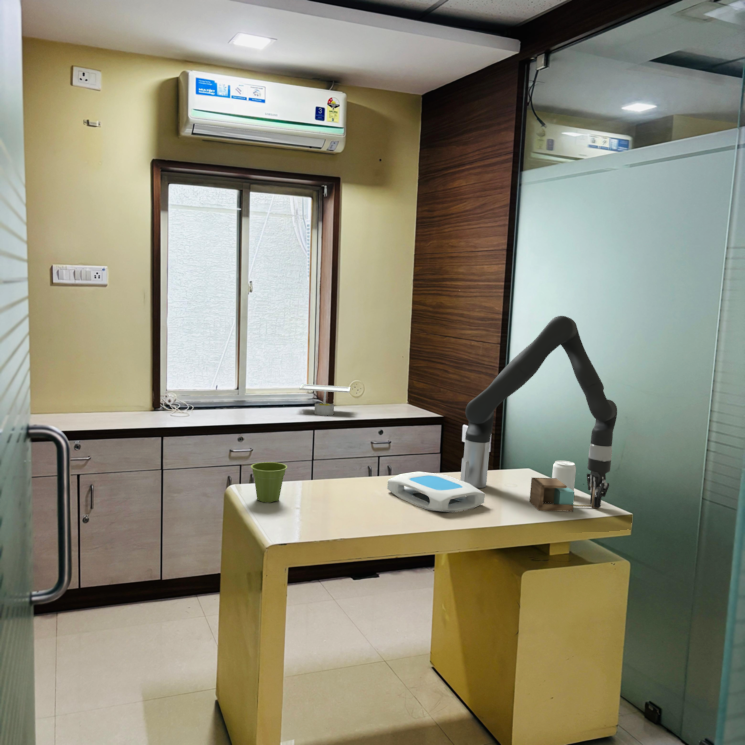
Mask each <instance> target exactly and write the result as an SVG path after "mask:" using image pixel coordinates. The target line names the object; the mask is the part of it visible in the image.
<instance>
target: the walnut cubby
mask: <svg viewBox="0 0 745 745" xmlns="http://www.w3.org/2000/svg"><path fill="white" fill-rule="evenodd" d="M530 482H531V483H530V492H529V503H530V504H531V505H532V506H534V508H535V509H536V510H538V511H545V512H549V511H550V512H551V511H552V512H574V511H573V510H574V507H573V505H570V504H554V493H555V488H567V486H566V485H565V484H563V483H562V482H561V481H559V480H558V479H557V478H552V477H551V478H550V477H531V480H530Z"/></svg>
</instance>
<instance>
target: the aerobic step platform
mask: <svg viewBox="0 0 745 745" xmlns="http://www.w3.org/2000/svg"><path fill="white" fill-rule="evenodd" d="M386 489H387V490H388V491H389V492H390V493H391V494H393V495H394V496H396V497H397V498H398V499H400V500H403V501H405V502H408V503H409V504H412V505H414V506H417V507H419V508H422V509H424V510H426V511H434V512H440V513H441V512H443V513H458V511H459V512H463V510H464V511H469V510H472V509H475V508H476V507H478V506H481V505H482V504H484V503H485V498H486V493H485V492H483V491H482V490H480V488H475V487H474V486H472V485H471V484H469V483H467V482H464V481H461V480H460V479H458V478H455V477H453V476H450V475H446V474H441V473H435V472H434V473H433V472H425V471H413V472H406V473H400V474H397V475H395V476H393V477H391V478H389V479H387V487H386ZM417 493H421V494H423V495H425V496H427V497H428V498H429V502H428V501H426V500H424V499H421V498H418V497H417V496H415V495H414V494H417ZM451 500H455V501H457V502H453V503H450V502H451ZM468 509H469V510H468Z"/></svg>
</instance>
